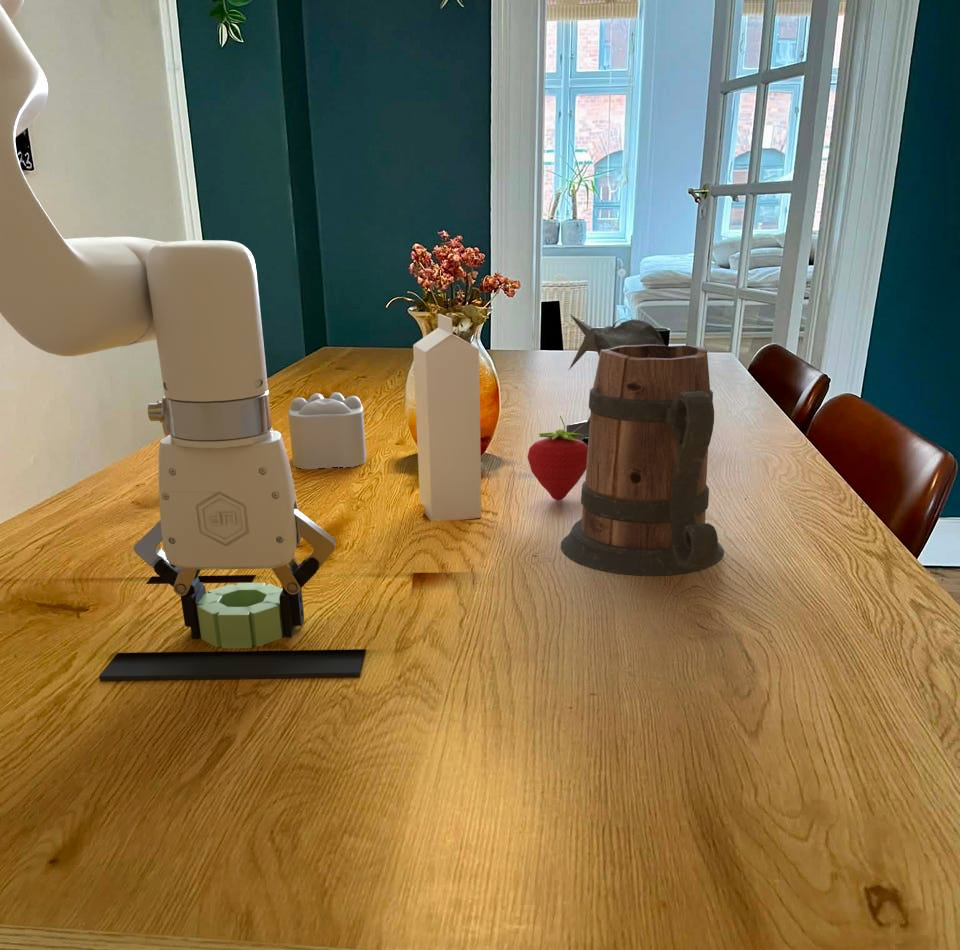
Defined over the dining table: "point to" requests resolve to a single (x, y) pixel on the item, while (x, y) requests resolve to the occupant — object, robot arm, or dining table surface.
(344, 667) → the mat
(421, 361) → the milk
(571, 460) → the strawberry
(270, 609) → the ring
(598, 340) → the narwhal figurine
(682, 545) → the tankard
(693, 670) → the dining table surface
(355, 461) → the lumpy-topped squat cylinder
